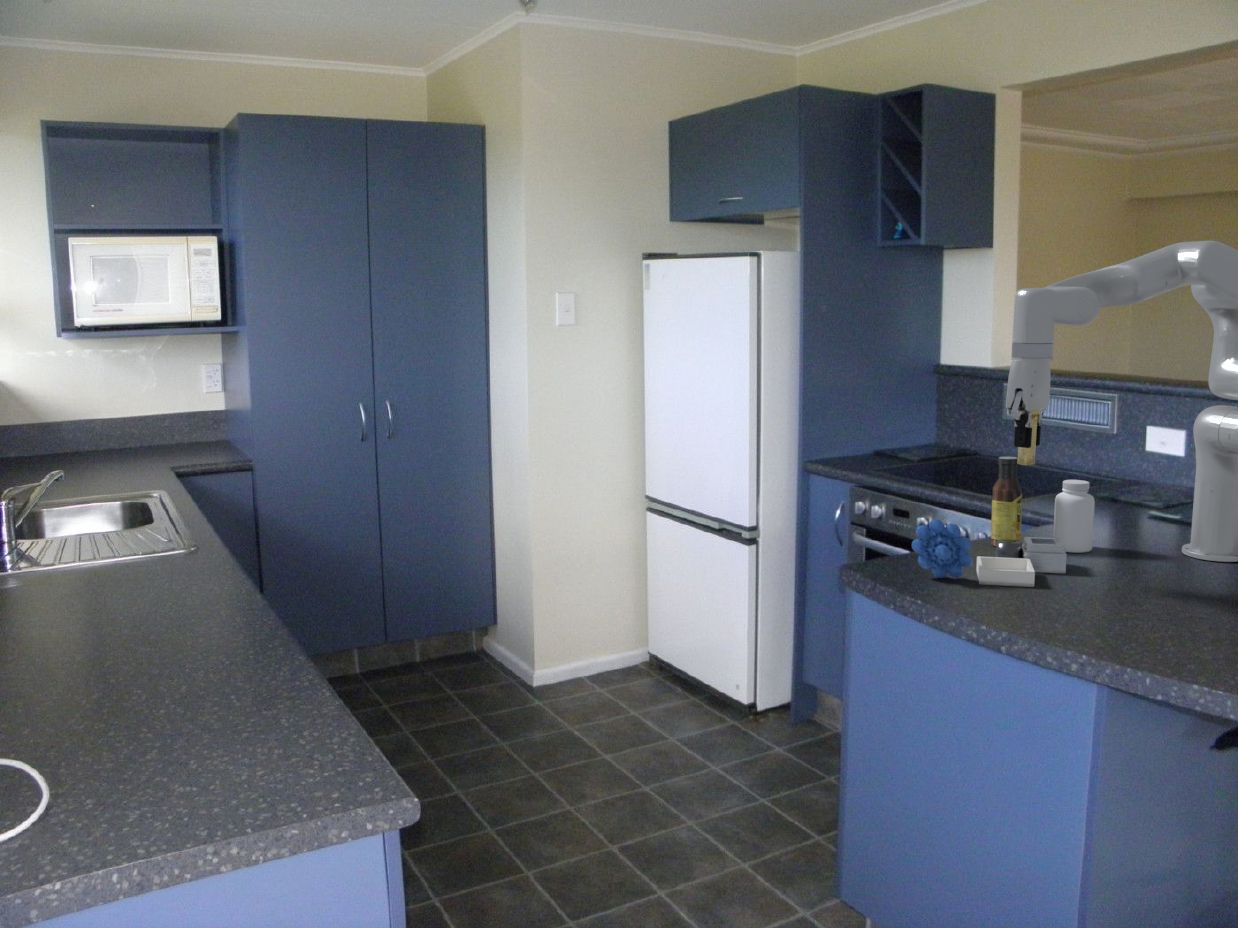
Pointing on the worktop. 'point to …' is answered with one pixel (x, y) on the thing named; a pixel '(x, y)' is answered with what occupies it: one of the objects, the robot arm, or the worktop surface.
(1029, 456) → the pin
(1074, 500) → the pill bottle
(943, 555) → the blue flower
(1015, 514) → the sauce bottle
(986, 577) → the tray
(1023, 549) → the tensioner block
